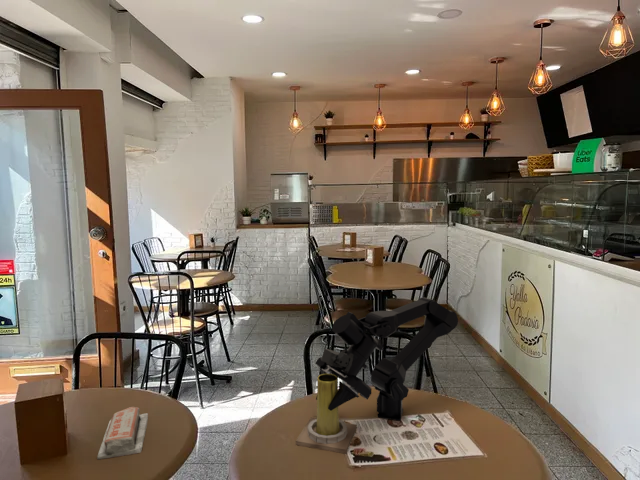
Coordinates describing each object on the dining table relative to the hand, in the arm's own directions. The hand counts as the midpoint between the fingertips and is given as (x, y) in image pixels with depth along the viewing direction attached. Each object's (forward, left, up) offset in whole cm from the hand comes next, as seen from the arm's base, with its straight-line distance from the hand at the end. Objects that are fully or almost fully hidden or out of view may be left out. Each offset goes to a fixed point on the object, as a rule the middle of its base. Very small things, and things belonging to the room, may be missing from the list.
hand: (323, 405), depth 112 cm
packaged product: (+49, +14, -9) cm, 52 cm away
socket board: (-1, -1, -9) cm, 9 cm away
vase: (-1, -1, -7) cm, 8 cm away
